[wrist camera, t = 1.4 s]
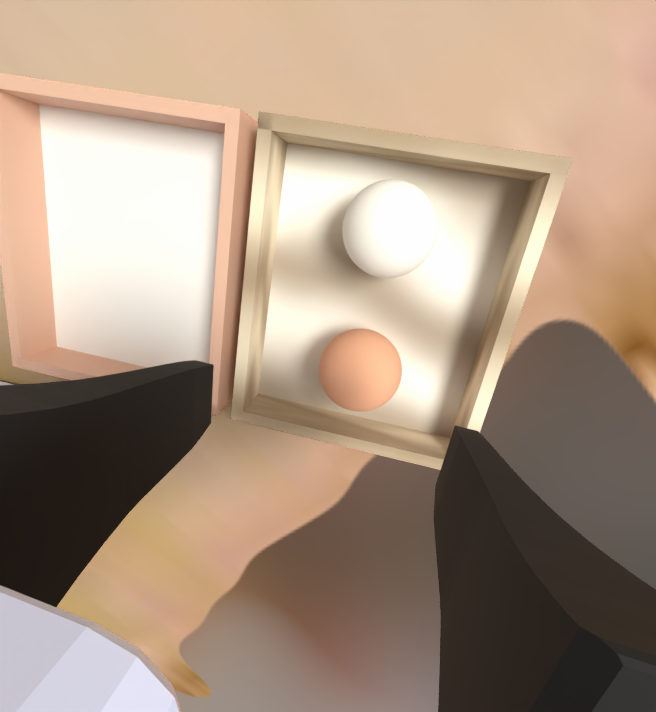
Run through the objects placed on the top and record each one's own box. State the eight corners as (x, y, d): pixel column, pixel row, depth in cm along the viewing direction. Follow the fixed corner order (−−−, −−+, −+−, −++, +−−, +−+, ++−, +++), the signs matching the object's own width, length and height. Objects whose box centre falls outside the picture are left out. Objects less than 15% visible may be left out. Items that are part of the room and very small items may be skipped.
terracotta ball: (392, 399, 21) (391, 435, 17) (321, 383, 21) (304, 415, 18) (409, 329, 20) (412, 352, 16) (333, 313, 20) (318, 332, 16)
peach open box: (237, 394, 23) (216, 415, 20) (54, 351, 24) (12, 366, 22) (262, 126, 18) (240, 108, 16) (34, 91, 20) (-22, 69, 17)
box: (456, 445, 22) (464, 475, 19) (249, 397, 23) (230, 419, 20) (545, 169, 17) (573, 158, 14) (279, 128, 18) (259, 111, 16)
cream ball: (421, 280, 19) (427, 292, 15) (341, 265, 19) (328, 273, 15) (443, 192, 17) (455, 182, 14) (356, 178, 18) (346, 164, 14)
